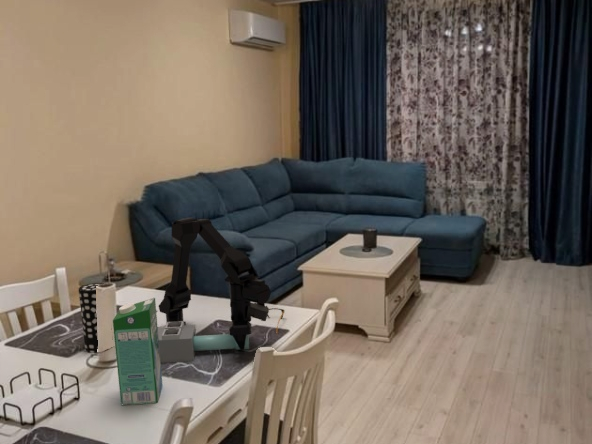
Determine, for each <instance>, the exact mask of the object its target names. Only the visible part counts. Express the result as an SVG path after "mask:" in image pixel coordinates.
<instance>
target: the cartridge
mask: <svg viewBox="0 0 592 444" xmlns="http://www.w3.org/2000/svg"><path fill="white" fill-rule="evenodd" d="M249 336H250V334H249V335H246V340H245V346H244V350H249V349H250V337H249ZM193 348H194V351H195V352H199V351H213V350H218V351H219V350H231V349H235V350H239V351H240V348H239V346H238V344H237V343H236V341H235V339H234V337H233V336H231V335H230V333H224V334H223V333H222V334H210V335H208V334H207V335H196V336H193Z"/></svg>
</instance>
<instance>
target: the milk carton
mask: <svg viewBox="0 0 592 444" xmlns="http://www.w3.org/2000/svg"><path fill="white" fill-rule="evenodd" d="M112 325H113V334H114V335H113V337H114V345H115V355H116V366H117V368H116V369H117V375H118V387H119V395H120V405H121V404H123V405H122V406H128V405H127V404H132V405H143V403H146V404H156V403H158V402H159V399H160V395H161V392H162V389H163V375H162V374H163V373H162V365H161V364H162V363H161V361H160V350H159V338H158V327H159V326H158V316H157V305H156V297H153V298H150V299H145V300H143V301H140V302H137V303H136V302H135V303H134V302H129V303H126V304H124V305H121V306H120V307H119V309H118V311H117V313H116V315H115V316H114V318H113V319H112ZM125 404H126V405H125Z"/></svg>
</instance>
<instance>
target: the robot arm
mask: <svg viewBox="0 0 592 444" xmlns="http://www.w3.org/2000/svg"><path fill="white" fill-rule="evenodd" d="M213 225H214V224H212V221H211V220H210V219H209V218H201V219H195V218H194V217H192V216H191V217H186V218H182V219H177V220H174V221H172V223H171V238H172V240H173V241H174V245H175V246H174V254H173V264H172V273H171V280H170V281H171V282H170V283H169V285H168V286H167V287H166V289H165V291H164V295H163V299H162V301H161V302H160V303H159V304H158V309H159V312H160V313H162V314H165V320H166V321H165V322H166V323H167V322H173V321H184V310H185V309H188V308H189V304H190V301H192V292H193V291H192V290H191V289H190V288H189V286H188V284H187V282H188V281H187V280H188V272H189V266H190V256H191V248H192V245H193V243H194V242H195V241H196V240H197V238H198V235H199V236H200V238H202V239H203V241H204V242H205V243H206V244H207V245H208V246H209V248H210V249H211V250H212V251H213V252H214V253H215V254H216V256H217V257H218V258H219V260H220V266H221V268H222V269H223V271H224V272H225V274H226V275H227V276H226V277H225V278H224V280H223V282H226V283H229V286H228V287H229V297H230V298H229V299H230V303H229V306H230V320H231V323H230V324H229V331H228V332H229V334H230V335H231V336H233V337H234V339H235V341H236V343H237V344H238V346H239V348H240V349H239V351H244V350H245V349H244V346H245V340H246V335H249V336H250V335H251V334H252V323H251V321H252V318H254V319H256V320H257V319H258V320H260V321H262V322H266V321H267V318H268V316H269V313H270V310H269V309H270V308H269V307H268V305H266V303H267V302H268V301H269V300H270V297H271V289H270V287H269V285H268V284H266V280H264V279H258V278H259V275H258V272H257V270H256V269H255V267H254V266H253V263H252V261H251V259H250V258H249V256H248V255H247V254H245V253H244V252H243V251H241V250H238V249H236V248H234V247H233V246H232V245H231V244H230V243H229V242H228V241H227V239H226V238H224V236H223V235H222V234H221V232H219V231H218V229H217V228H215V226H213ZM267 315H268V316H267ZM184 325H187V322H186V321H184Z"/></svg>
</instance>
